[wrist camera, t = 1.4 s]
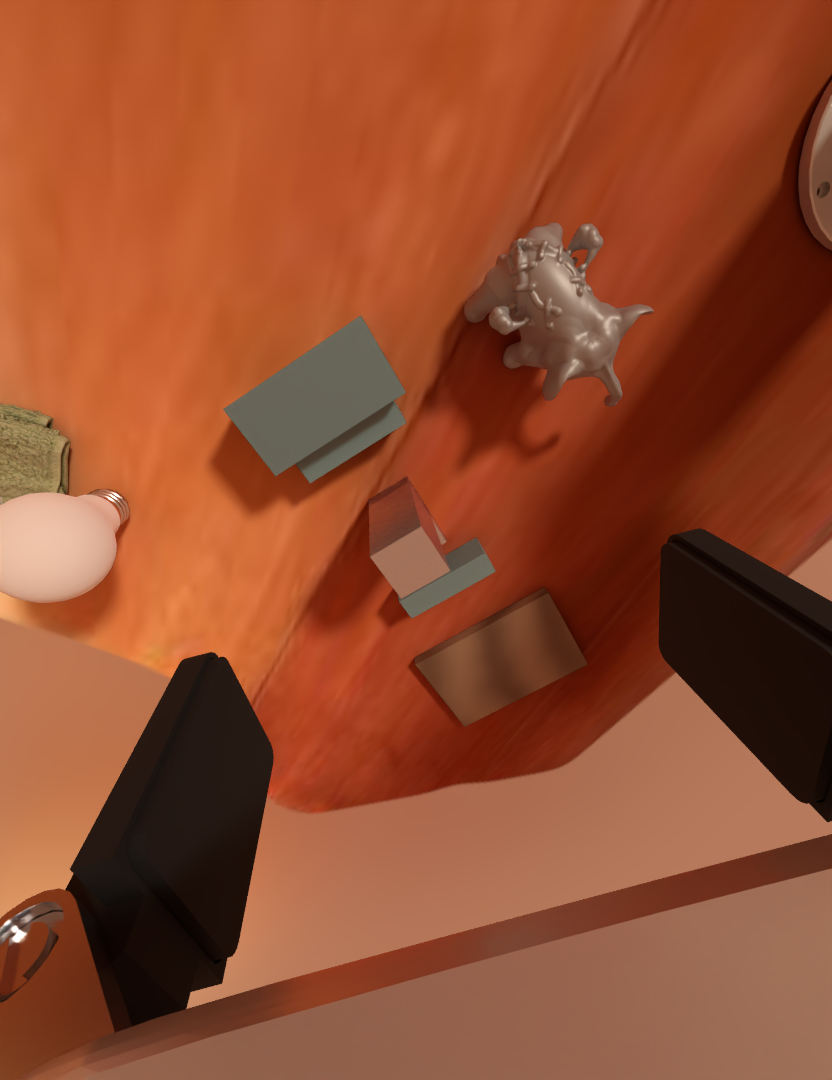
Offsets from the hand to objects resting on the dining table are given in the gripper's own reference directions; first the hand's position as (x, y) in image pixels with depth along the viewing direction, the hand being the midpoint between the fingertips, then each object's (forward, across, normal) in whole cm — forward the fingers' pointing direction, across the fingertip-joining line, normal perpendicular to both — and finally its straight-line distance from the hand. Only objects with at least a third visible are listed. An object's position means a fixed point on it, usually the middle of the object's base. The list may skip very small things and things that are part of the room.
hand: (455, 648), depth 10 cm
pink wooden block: (+27, 0, +8) cm, 28 cm away
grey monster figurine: (+27, -13, -4) cm, 30 cm away
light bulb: (+27, +21, +1) cm, 35 cm away
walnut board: (+27, -6, +25) cm, 37 cm away
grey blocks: (+27, +1, +4) cm, 27 cm away
